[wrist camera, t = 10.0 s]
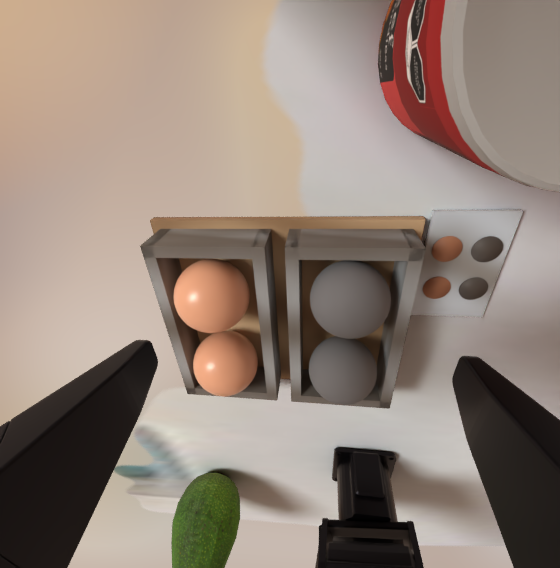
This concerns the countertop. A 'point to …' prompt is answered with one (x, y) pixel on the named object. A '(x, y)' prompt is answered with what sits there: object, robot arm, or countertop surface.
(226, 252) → the grey sorting tray
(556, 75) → the canned food
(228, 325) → the terracotta ball
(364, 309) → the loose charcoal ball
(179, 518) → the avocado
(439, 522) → the countertop surface
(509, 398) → the robot arm
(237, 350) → the terracotta ball
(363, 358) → the resting charcoal ball
